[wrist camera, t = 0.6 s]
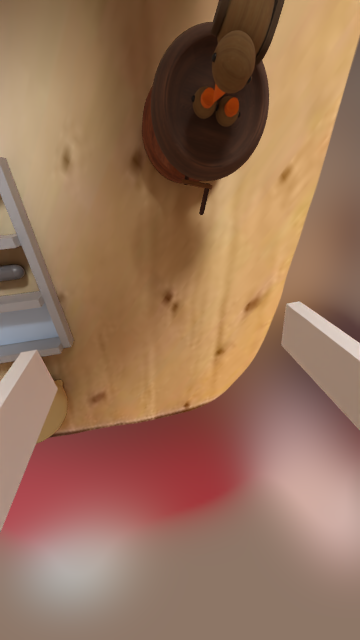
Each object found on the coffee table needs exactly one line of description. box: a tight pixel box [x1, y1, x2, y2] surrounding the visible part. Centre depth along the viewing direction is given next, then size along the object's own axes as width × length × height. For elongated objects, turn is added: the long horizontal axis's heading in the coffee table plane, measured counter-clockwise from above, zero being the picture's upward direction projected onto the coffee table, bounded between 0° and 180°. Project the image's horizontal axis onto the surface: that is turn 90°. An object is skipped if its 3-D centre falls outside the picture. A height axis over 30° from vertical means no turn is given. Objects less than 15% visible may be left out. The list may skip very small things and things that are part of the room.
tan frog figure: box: [36, 380, 68, 444], centre depth 39 cm, size 10×12×11 cm
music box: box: [142, 0, 284, 215], centre depth 21 cm, size 15×11×20 cm
